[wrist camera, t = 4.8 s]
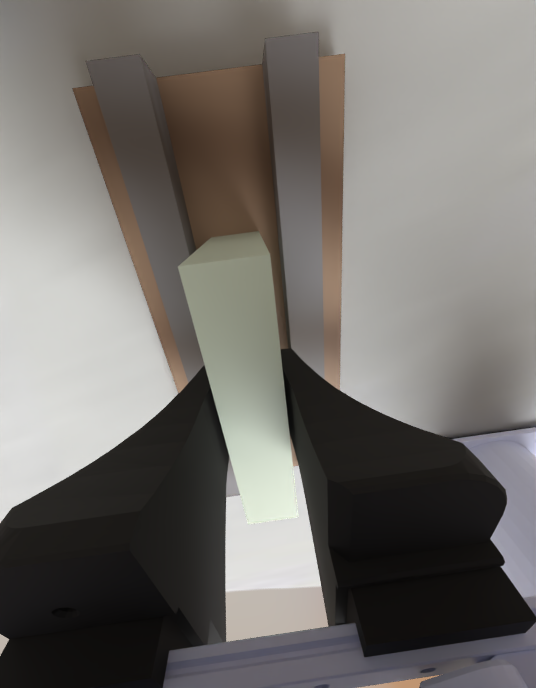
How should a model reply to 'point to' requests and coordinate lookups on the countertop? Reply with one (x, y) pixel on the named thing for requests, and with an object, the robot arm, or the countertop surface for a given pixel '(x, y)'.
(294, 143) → the track board
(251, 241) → the door panel
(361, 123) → the countertop surface
